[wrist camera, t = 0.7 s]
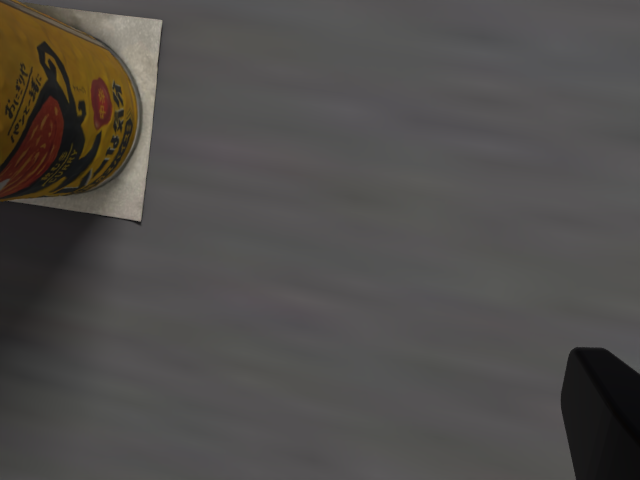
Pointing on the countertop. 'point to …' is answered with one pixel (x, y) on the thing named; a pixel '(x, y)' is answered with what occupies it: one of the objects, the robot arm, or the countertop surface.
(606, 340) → the countertop surface
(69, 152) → the condiment
